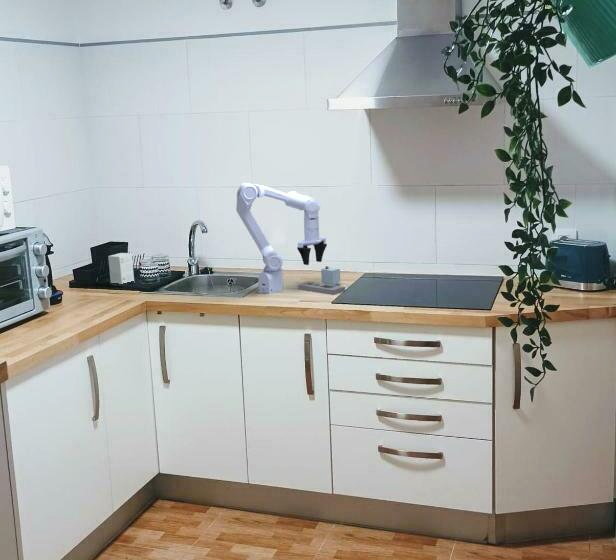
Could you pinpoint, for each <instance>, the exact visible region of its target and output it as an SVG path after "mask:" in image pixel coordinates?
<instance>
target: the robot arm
mask: <svg viewBox="0 0 616 560" xmlns="http://www.w3.org/2000/svg"><path fill="white" fill-rule="evenodd" d="M257 197H258V198H263V197H267V198H272V199H274V200H278V201H282V202H284V203H285V206H286V207H289V208H293V209H295V210H299V211H304V212H303V213H304V215H303V224H304V225H303V228H304V239H303V240H301V241H298V242H297V248H296V249H297V250H298V252H299V254H300V256H301V260H302V262H303V266H304V265H305V266H309V265H310V254H311V249H312V248H311V247H310V246H313V249H314V251H315V252H314V253H315V261H316V262H317V263H321V262H322V260H323V256H324V253H325V251H326V248H327V245H328V244H327V238H326V237H320V222H319V221H320V220H319V219H320V218H319V211H320V209H321V205H320V203H319V201H318V200H317V199H315V198H313V197H311V196H309V195H307V194H306V195H303V194H300V193H298V191H295V190H293V191H289V192H287V193H286V192H283V191H281V190H276V189H274V188H272V187H268V186H267V185H261V184H258V183H257V184H256V183H250V182H243V183H241V184H240V185H239V187H238V189H237V192H236V213H237V215H238V216H239V218H240V219H241V221H242V222H243V225H244V226H245V227H246V230H247V231H248V233H249V235H250V236H251V237H252V240H253V242H254V243H255V244H256V246H257V248H258V250H259V251H260V253H261V256H262V261H263V264H264V267H263V271H262V272H260V273H259V274H258V277H257V281H258V291H257V294H267V295H271V294H275V293H280V292H283V291H284V279H283V277H284V276H283V267H282V266H283V259H282V257H281V256H280V255H278V253H277V252H276V251H275V250H274V248H273V247H272V246H271V243H270V242H269V240H268V239H267V237H266V236H265V234H264V232H263V230H262V229H261V227H260V225H259V224H258V222H257V220H256V218H255V216H254V215H253V214H252V211H251V209H252V206H253V203H254V201H256V199H257Z"/></svg>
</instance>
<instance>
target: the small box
mask: <svg viewBox="0 0 616 560" xmlns="http://www.w3.org/2000/svg"><path fill="white" fill-rule="evenodd" d="M107 259H108V266H109V267H108V268H109V270H108V271H109V277H110V278H109V279H110V284H111V283H119V284H123V283H127V282H131V281H134V282H135V277H134V274H135V273H134V265H133V254H132V253H130V252H129V253H128V252H120V253H119V252H118V253H116V254H111V255H108V256H107Z"/></svg>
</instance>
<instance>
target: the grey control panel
mask: <svg viewBox="0 0 616 560" xmlns="http://www.w3.org/2000/svg"><path fill="white" fill-rule="evenodd" d="M297 287H298V290H300V291H307V292H311V293H312V292H313V293H320V294H326V295H331V296H335V295H338V294H341V293H345V292H346V286H342V285H330V284H324V283H322V282H317V281H316V282H315V281H306V282H303V283H299V284H298V285H297Z"/></svg>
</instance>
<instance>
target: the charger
mask: <svg viewBox="0 0 616 560" xmlns="http://www.w3.org/2000/svg"><path fill="white" fill-rule="evenodd" d="M320 272H321V283H323V284H330V285H337V286H339V283H341V269H340V268H336V267H329V266H328V265H327V266H325V268H322V269H321V271H320Z"/></svg>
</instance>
